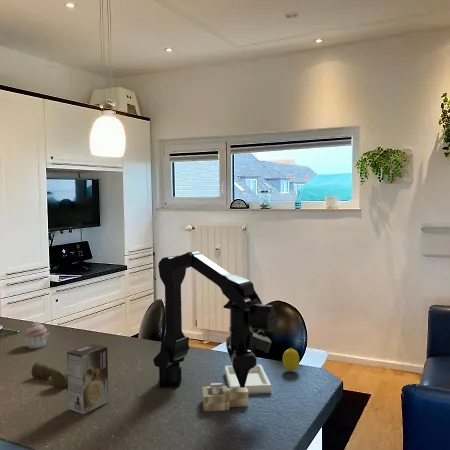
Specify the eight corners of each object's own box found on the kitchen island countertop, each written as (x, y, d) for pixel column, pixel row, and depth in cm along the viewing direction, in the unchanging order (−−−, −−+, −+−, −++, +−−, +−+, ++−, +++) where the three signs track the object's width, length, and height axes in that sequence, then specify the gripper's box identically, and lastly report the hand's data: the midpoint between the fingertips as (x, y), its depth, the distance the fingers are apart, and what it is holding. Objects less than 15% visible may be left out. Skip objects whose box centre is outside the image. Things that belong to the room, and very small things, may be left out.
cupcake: (43, 350, 178) (43, 324, 178) (19, 350, 178) (18, 324, 178) (53, 343, 188) (52, 318, 187) (29, 342, 188) (29, 318, 187)
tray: (271, 393, 139) (271, 384, 139) (230, 394, 138) (230, 386, 138) (260, 372, 156) (260, 364, 156) (224, 373, 155) (224, 365, 155)
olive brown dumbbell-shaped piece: (48, 373, 157) (95, 381, 148) (24, 384, 148) (73, 393, 139) (47, 355, 156) (94, 363, 148) (23, 365, 148) (72, 374, 139)
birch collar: (203, 411, 127) (203, 396, 127) (202, 400, 134) (202, 386, 134) (249, 409, 128) (249, 394, 128) (245, 398, 135) (245, 384, 135)
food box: (93, 397, 136) (92, 342, 135) (109, 402, 133) (108, 346, 132) (67, 409, 128) (66, 351, 127) (83, 415, 125) (82, 355, 124)
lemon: (298, 375, 153) (299, 351, 153) (281, 374, 154) (281, 350, 154) (299, 369, 159) (299, 345, 158) (283, 368, 160) (283, 344, 159)
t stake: (209, 408, 129) (209, 386, 129) (208, 402, 133) (208, 381, 132) (222, 407, 129) (222, 386, 129) (221, 402, 133) (221, 381, 133)
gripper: (276, 334, 122) (275, 393, 123) (263, 316, 141) (262, 367, 141) (233, 335, 121) (233, 395, 122) (225, 317, 139) (225, 369, 140)
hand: (240, 380), depth 131 cm, fingers open, 9 cm apart
